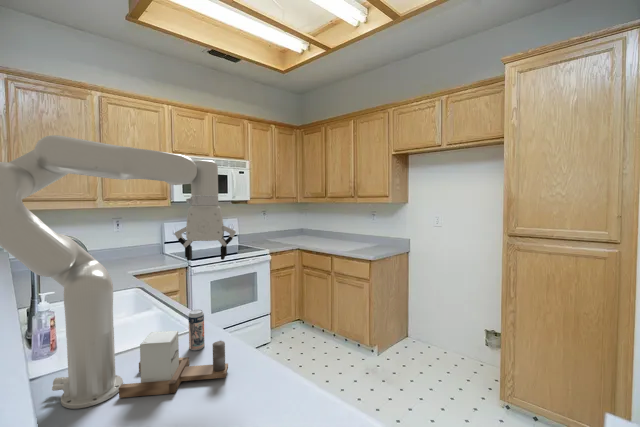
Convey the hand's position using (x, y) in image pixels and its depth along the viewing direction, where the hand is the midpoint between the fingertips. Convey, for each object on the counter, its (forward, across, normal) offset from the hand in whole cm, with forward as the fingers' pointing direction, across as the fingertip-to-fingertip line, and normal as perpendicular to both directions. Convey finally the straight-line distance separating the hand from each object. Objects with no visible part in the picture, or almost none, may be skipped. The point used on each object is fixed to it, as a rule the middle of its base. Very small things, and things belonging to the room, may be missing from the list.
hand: (206, 259), depth 95 cm
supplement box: (+31, -10, -12) cm, 34 cm away
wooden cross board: (+30, -5, -11) cm, 32 cm away
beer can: (+31, -5, +7) cm, 32 cm away
